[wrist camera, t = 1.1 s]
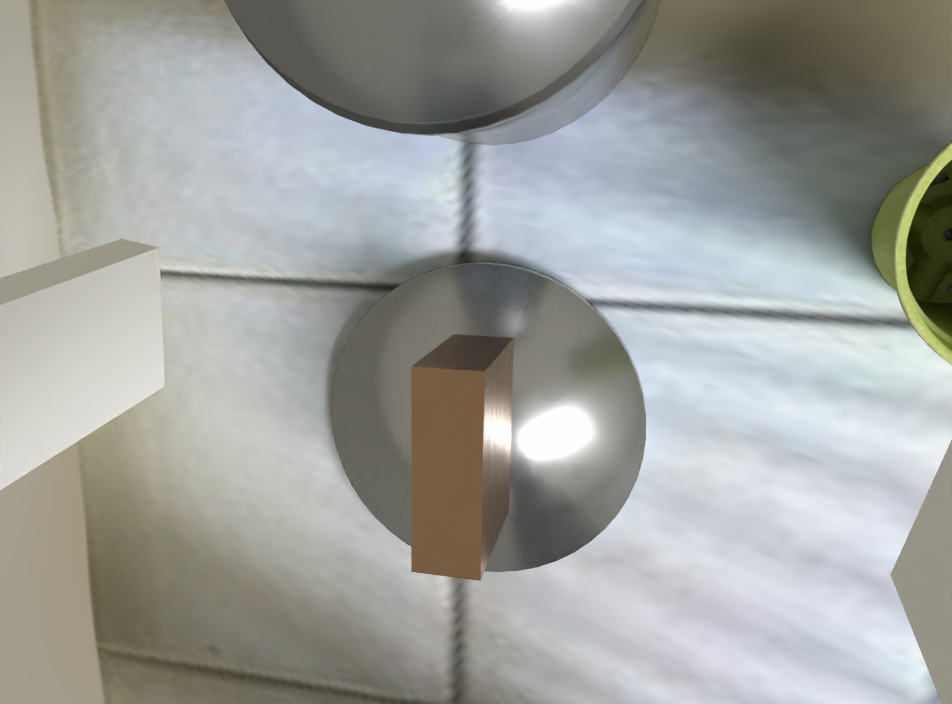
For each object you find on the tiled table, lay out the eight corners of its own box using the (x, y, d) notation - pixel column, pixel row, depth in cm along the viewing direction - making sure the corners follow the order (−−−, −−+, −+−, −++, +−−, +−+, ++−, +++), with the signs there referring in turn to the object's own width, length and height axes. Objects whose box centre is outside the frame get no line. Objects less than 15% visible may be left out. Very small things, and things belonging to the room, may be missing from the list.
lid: (635, 578, 38) (633, 677, 30) (343, 542, 41) (274, 624, 34) (656, 267, 35) (662, 290, 27) (337, 255, 38) (258, 272, 30)
